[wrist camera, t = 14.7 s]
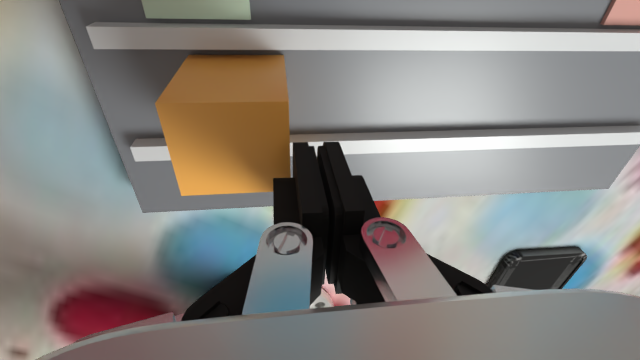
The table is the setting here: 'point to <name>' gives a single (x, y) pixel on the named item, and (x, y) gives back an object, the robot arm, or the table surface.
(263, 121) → the orange block
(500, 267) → the phone
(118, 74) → the switch panel
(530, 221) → the table surface
